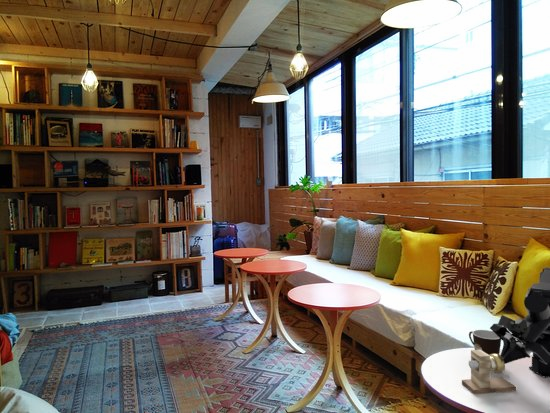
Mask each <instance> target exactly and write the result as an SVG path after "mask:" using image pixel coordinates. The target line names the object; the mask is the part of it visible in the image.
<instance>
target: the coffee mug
mask: <svg viewBox="0 0 550 413" xmlns="http://www.w3.org/2000/svg"><path fill="white" fill-rule="evenodd" d="M468 337H469V339H470V343H471V344H472V345H473V347H474V350H482V351H483V352H485V353H487V354H488V355H489V354H499V355H500V354H501V353H500V352H501V344H502V340H501V339H500V338H499V337H498V336H497V335H496V334H495V333H494V332H493V331H492V330H488V329H475V330H472V331H469V333H468Z"/></svg>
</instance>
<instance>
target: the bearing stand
mask: <svg viewBox="0 0 550 413" xmlns="http://www.w3.org/2000/svg"><path fill="white" fill-rule="evenodd" d="M476 360H477V361H479V369H471V368H470V379H461V384H462V385H463V386H464V387H465V388H466V389H467V390H469V391H470V392H471V393H472V394H473V395H478V394H491V393H505V392H517V386H516V385H514V384H513V383H511V382H510V381H508V380H507V379H506V378H504V377H503V376H497V377H491V371H490V355H488V354H487V353H485V352H483V351H482V350H475V349H471V350H470V361H476Z"/></svg>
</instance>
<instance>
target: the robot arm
mask: <svg viewBox="0 0 550 413" xmlns="http://www.w3.org/2000/svg"><path fill="white" fill-rule="evenodd" d="M523 305H524V307H525V308H524V309H525V310H526V313H527V315H526V316H525V317H524V318H520V317H519V318H517V319H516V320H515V319H513V318H510V317H508V316H506V315H504V314H501V316H500V318H499V320H498V323H493V324H492V325H491V326H490V327H489V329H490V331H493V332H494V333H495V334H496V335H497V336H498V337H499V338H500V339H501V341H502V343H503V346H502V350H501V351H500V352H501V353H500V354H499V355H500V356H501V357H502V358H503V360H504V363H505V365H506V364H508V363H512V362H514V361H517V360H522V359H526V358H529V359H530V358H531V366H528V369H529V370H531V371H533V372H534V373H536V374H537V375H539V376H541V377H543V378H550V267H547V266H546V267H543V268H542V271H541V272H540V273H539V278H538V282H537V283H532V285H531V286H530V288H528V290H527V291H526V294H525V296H524V300H523ZM530 354H532V356H531V355H530Z"/></svg>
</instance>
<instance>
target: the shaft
mask: <svg viewBox="0 0 550 413" xmlns="http://www.w3.org/2000/svg"><path fill="white" fill-rule="evenodd" d="M489 355H490V372H493V373H494V374H499V373H500V374H501V373H504V372H505V370H506V364H505V363H504V360H503V358H502V357H501V356H500V355H501V354H500V353H499V354H489ZM468 366H469V369H470V370H471V369H479V361H477V360H476V361H471V360H469V361H468Z"/></svg>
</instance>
